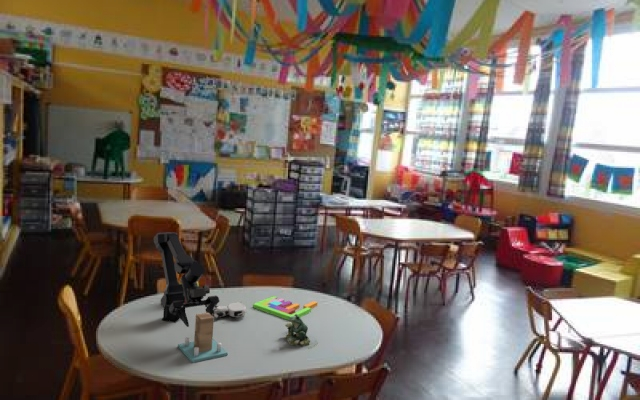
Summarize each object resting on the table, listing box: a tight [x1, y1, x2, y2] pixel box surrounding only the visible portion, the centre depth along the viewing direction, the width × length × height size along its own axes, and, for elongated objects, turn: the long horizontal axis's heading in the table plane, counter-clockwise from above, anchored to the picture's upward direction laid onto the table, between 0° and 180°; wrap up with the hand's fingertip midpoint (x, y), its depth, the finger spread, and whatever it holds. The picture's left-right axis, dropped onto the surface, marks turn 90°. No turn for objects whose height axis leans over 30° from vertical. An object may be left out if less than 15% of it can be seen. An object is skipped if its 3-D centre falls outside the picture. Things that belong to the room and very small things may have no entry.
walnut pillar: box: [193, 312, 215, 352], centre depth 191 cm, size 5×5×13 cm
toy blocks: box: [252, 295, 318, 321], centre depth 245 cm, size 23×2×25 cm
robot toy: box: [212, 301, 247, 319], centre depth 228 cm, size 12×4×15 cm
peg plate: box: [177, 336, 229, 364], centre depth 192 cm, size 14×14×4 cm
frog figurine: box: [284, 314, 319, 350], centre depth 209 cm, size 18×18×12 cm
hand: (199, 324), depth 194 cm, fingers open, 9 cm apart
